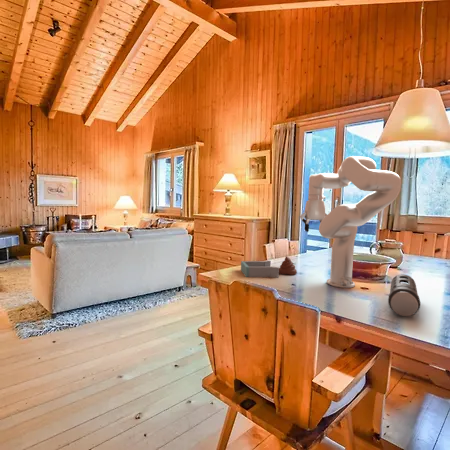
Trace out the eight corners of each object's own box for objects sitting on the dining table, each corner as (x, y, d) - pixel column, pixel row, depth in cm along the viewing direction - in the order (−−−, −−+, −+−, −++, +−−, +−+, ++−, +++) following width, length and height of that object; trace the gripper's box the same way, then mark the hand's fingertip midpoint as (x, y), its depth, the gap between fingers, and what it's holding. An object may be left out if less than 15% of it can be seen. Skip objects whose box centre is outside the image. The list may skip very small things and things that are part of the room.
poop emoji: (277, 274, 165) (277, 257, 164) (278, 271, 173) (278, 254, 172) (296, 276, 162) (297, 258, 162) (296, 272, 171) (297, 255, 170)
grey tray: (279, 277, 158) (279, 267, 158) (246, 277, 156) (246, 267, 156) (269, 269, 176) (269, 260, 176) (240, 269, 174) (240, 260, 174)
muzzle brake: (415, 300, 128) (417, 275, 127) (419, 323, 103) (422, 292, 103) (389, 296, 132) (391, 272, 132) (386, 317, 108) (389, 288, 107)
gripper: (328, 198, 171) (326, 231, 172) (297, 197, 169) (295, 230, 170) (334, 198, 164) (332, 232, 165) (302, 197, 161) (300, 232, 163)
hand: (314, 231), depth 168 cm, fingers open, 7 cm apart
